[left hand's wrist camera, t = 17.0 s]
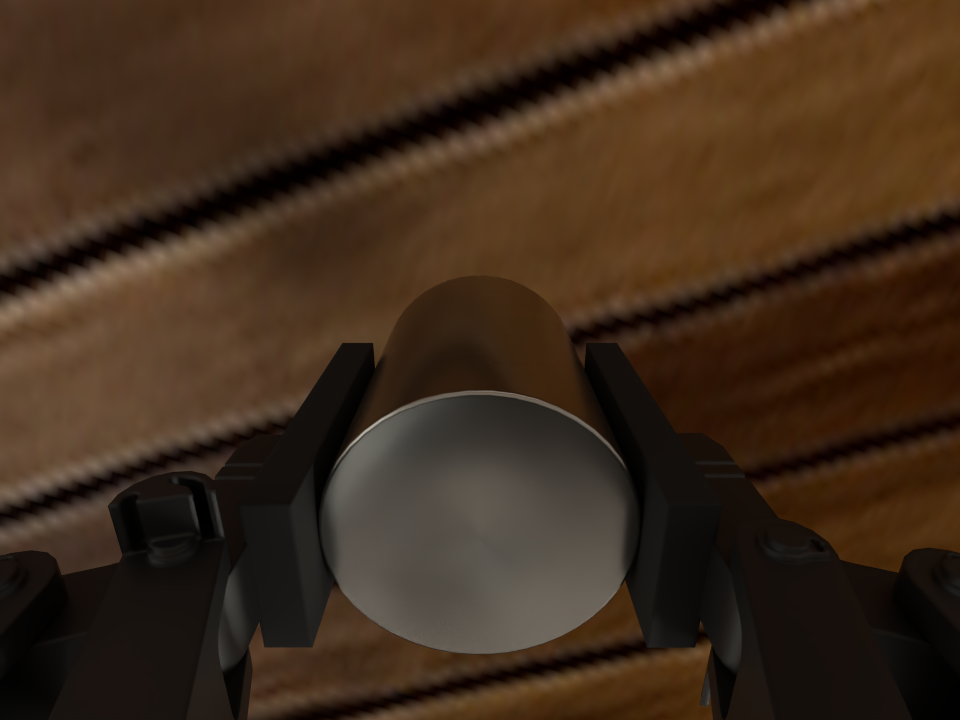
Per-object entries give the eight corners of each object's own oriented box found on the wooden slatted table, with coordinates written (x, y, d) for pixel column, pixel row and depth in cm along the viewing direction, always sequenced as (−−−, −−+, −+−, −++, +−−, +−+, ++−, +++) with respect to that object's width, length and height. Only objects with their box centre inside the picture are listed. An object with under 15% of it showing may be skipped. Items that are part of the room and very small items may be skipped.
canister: (440, 472, 17) (415, 692, 10) (351, 326, 15) (250, 476, 9) (601, 404, 16) (686, 594, 10) (525, 240, 15) (564, 331, 8)
